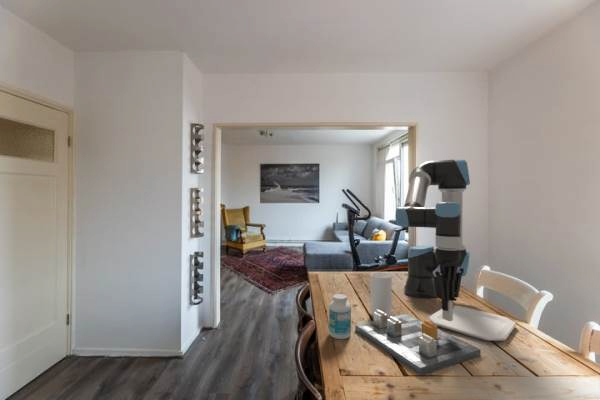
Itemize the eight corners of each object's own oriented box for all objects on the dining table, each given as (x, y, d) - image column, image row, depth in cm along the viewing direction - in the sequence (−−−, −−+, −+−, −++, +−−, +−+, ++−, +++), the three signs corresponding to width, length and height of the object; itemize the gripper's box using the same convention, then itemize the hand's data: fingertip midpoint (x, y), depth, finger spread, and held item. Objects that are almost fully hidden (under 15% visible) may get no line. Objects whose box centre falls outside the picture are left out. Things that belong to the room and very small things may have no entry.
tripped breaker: (428, 333, 99) (428, 319, 99) (437, 338, 96) (437, 323, 96) (421, 335, 98) (421, 320, 98) (430, 340, 95) (430, 325, 95)
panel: (406, 318, 117) (406, 300, 117) (480, 355, 90) (480, 331, 90) (355, 330, 108) (355, 310, 107) (420, 375, 80) (420, 348, 80)
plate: (448, 308, 130) (448, 303, 130) (518, 325, 112) (518, 319, 112) (424, 325, 112) (424, 319, 112) (502, 349, 95) (502, 342, 94)
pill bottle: (327, 330, 107) (327, 292, 107) (347, 330, 108) (347, 292, 108) (331, 340, 100) (331, 300, 100) (353, 339, 100) (353, 299, 100)
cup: (392, 319, 117) (392, 278, 117) (370, 317, 119) (370, 277, 119) (390, 311, 125) (390, 272, 125) (370, 309, 127) (370, 271, 127)
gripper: (451, 245, 106) (451, 312, 106) (424, 248, 101) (424, 318, 101) (471, 249, 99) (471, 320, 99) (443, 251, 94) (442, 327, 94)
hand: (447, 319), depth 100 cm, fingers closed
